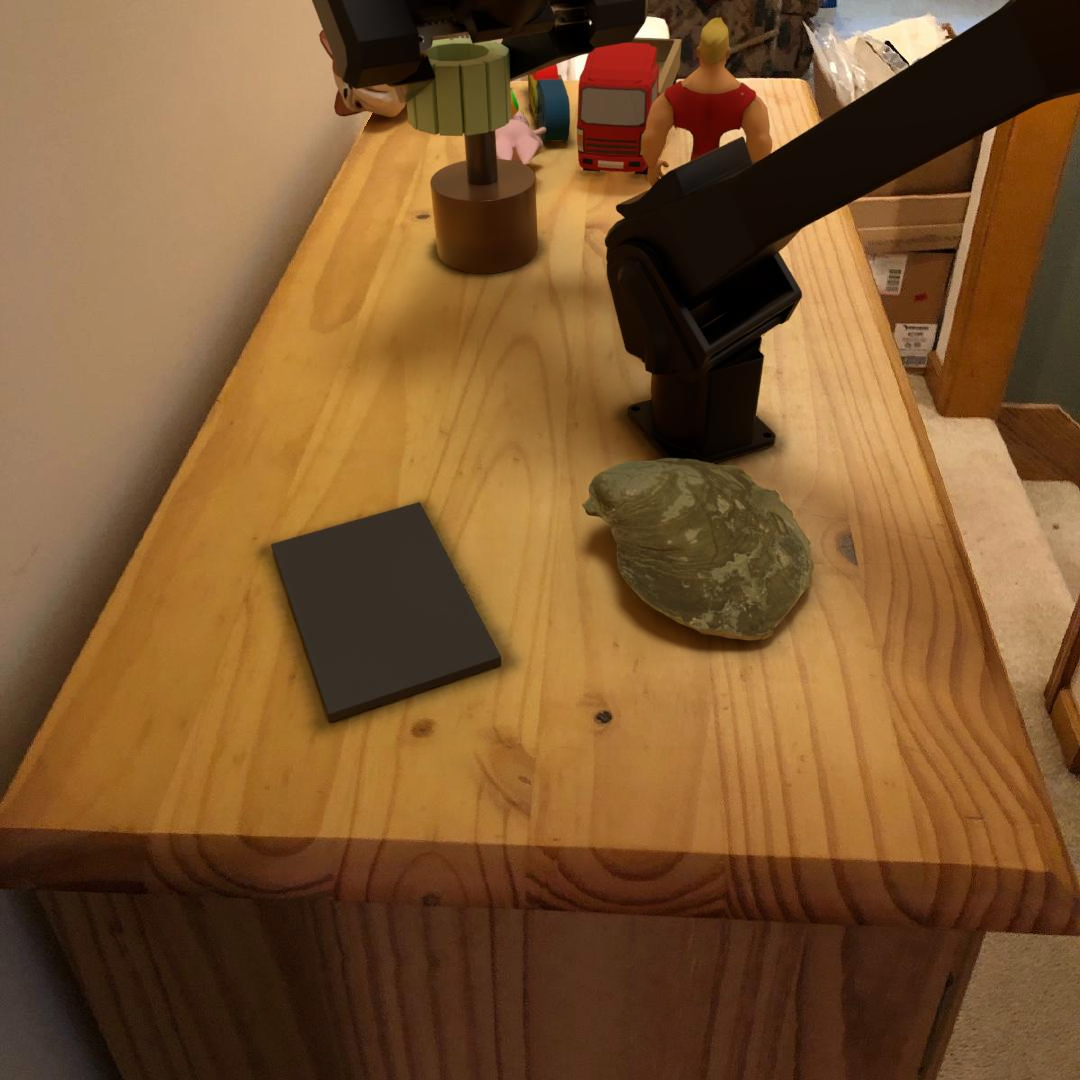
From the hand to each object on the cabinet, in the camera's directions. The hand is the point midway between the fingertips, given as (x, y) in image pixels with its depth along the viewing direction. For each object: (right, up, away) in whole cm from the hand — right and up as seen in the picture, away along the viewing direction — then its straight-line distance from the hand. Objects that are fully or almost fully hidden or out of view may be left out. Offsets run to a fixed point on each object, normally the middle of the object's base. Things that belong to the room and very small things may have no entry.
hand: (449, 86), depth 64 cm
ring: (+1, -2, 0) cm, 2 cm away
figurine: (+2, +17, +32) cm, 37 cm away
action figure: (+18, -5, +14) cm, 24 cm away
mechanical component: (+5, +13, +32) cm, 35 cm away
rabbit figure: (+3, +4, +25) cm, 25 cm away
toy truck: (+14, +6, +27) cm, 31 cm away
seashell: (+13, -30, -14) cm, 36 cm away
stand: (+2, -7, +13) cm, 14 cm away
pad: (-2, -32, -15) cm, 35 cm away
